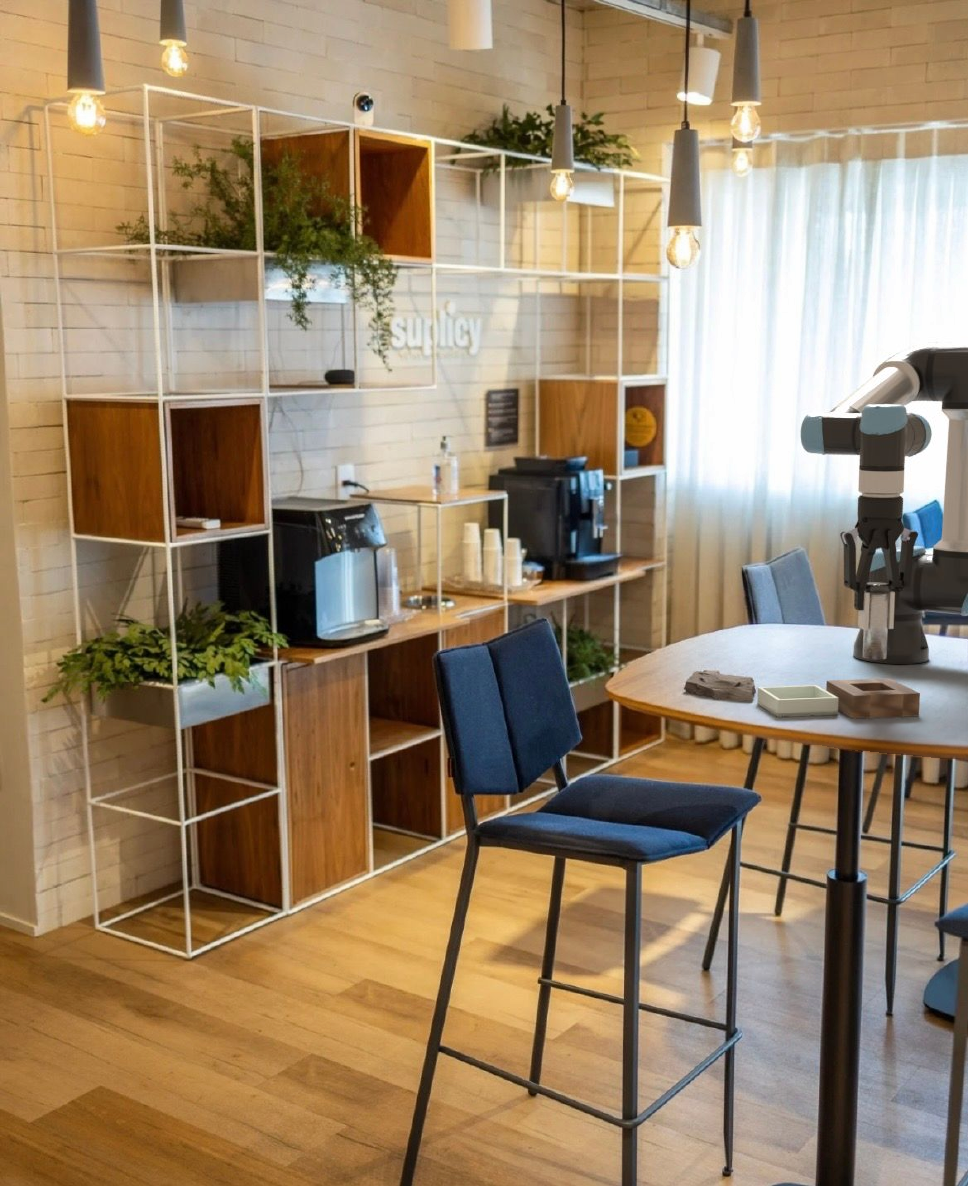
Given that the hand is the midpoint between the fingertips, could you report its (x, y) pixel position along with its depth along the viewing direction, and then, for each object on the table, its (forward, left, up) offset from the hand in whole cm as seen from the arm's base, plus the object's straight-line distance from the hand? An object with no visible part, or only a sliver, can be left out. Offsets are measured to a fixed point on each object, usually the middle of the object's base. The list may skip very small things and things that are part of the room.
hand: (875, 627), depth 241 cm
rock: (+22, -16, -15) cm, 31 cm away
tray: (+13, -2, -15) cm, 20 cm away
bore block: (0, 0, -15) cm, 15 cm away
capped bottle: (0, 0, -5) cm, 5 cm away
